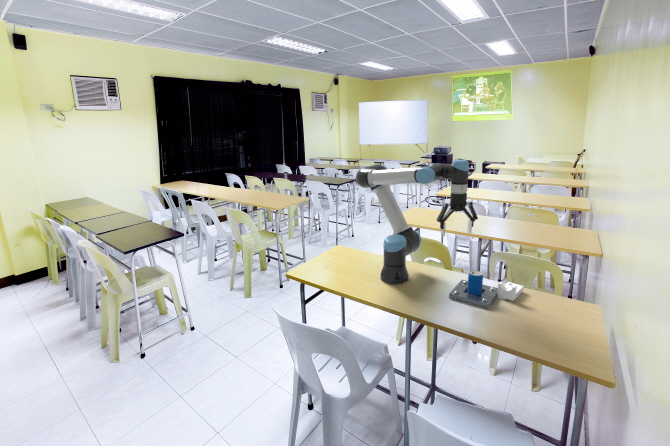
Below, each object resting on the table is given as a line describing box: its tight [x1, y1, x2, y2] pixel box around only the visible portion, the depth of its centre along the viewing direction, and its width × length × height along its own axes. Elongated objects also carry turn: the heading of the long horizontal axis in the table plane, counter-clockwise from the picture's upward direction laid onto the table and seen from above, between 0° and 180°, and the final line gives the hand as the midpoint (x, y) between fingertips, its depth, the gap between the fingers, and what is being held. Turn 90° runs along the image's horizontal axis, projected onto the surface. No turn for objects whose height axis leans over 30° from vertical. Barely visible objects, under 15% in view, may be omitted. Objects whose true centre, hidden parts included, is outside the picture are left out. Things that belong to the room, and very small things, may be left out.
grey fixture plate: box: [448, 279, 498, 310], centre depth 164 cm, size 18×18×3 cm
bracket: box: [496, 281, 524, 302], centre depth 163 cm, size 13×7×8 cm, turn 134°
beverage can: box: [467, 270, 484, 297], centre depth 163 cm, size 6×6×12 cm
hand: (456, 234), depth 171 cm, fingers open, 13 cm apart
